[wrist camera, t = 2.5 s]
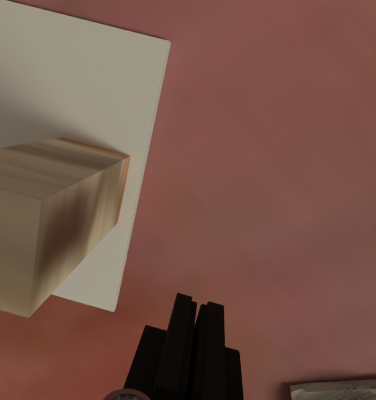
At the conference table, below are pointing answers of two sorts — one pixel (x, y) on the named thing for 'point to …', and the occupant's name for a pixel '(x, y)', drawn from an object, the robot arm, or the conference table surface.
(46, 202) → the maple block
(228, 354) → the robot arm
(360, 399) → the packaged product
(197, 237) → the conference table surface
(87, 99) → the mat
